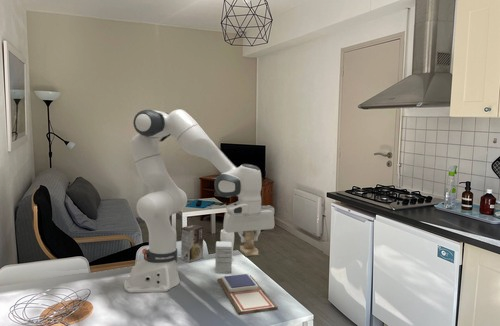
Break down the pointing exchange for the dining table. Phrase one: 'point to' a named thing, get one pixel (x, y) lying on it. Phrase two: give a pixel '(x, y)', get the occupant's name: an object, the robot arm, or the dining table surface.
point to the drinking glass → (227, 237)
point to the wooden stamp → (249, 245)
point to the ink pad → (239, 282)
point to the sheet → (251, 300)
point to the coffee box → (192, 243)
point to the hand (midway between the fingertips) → (249, 241)
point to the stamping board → (245, 291)
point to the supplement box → (223, 257)
